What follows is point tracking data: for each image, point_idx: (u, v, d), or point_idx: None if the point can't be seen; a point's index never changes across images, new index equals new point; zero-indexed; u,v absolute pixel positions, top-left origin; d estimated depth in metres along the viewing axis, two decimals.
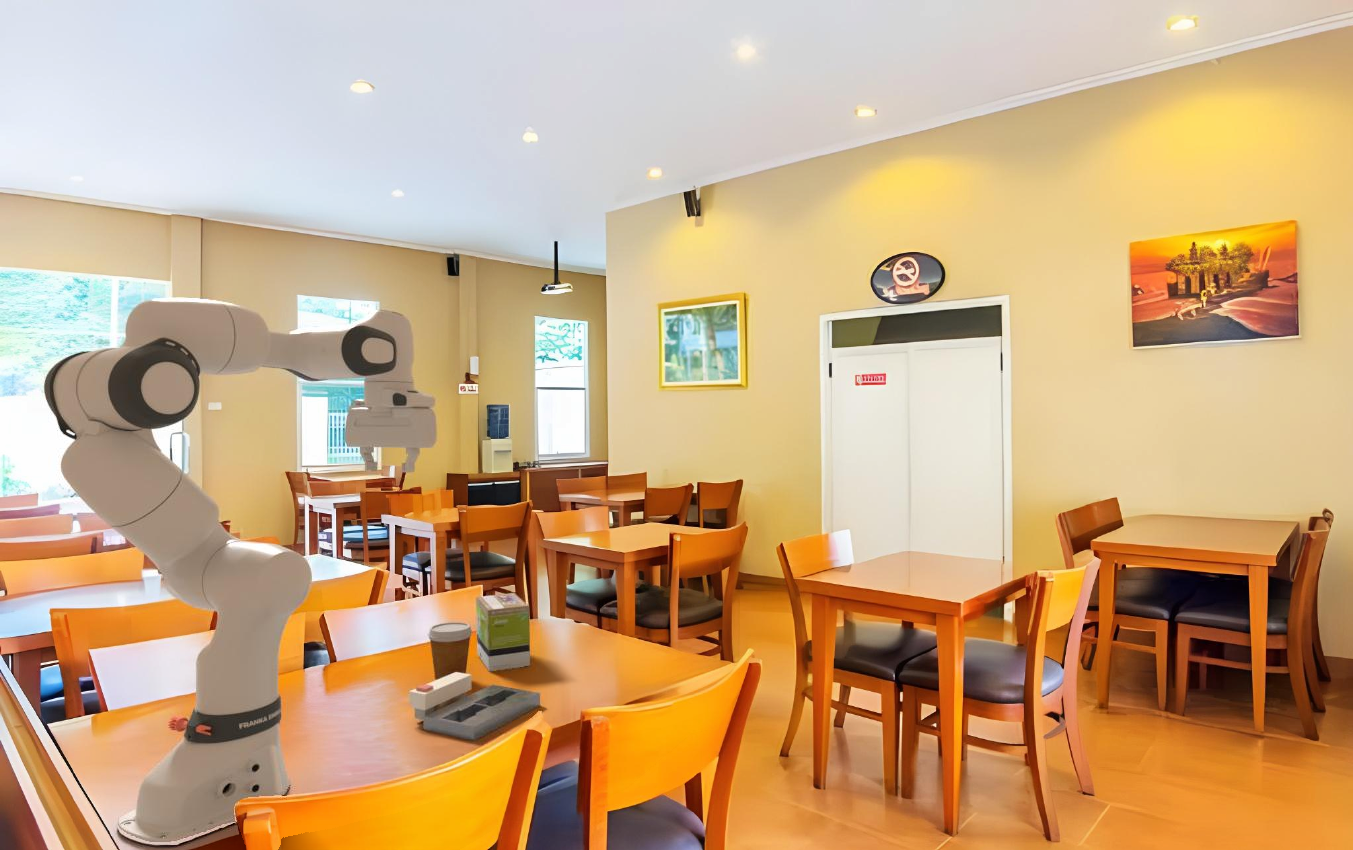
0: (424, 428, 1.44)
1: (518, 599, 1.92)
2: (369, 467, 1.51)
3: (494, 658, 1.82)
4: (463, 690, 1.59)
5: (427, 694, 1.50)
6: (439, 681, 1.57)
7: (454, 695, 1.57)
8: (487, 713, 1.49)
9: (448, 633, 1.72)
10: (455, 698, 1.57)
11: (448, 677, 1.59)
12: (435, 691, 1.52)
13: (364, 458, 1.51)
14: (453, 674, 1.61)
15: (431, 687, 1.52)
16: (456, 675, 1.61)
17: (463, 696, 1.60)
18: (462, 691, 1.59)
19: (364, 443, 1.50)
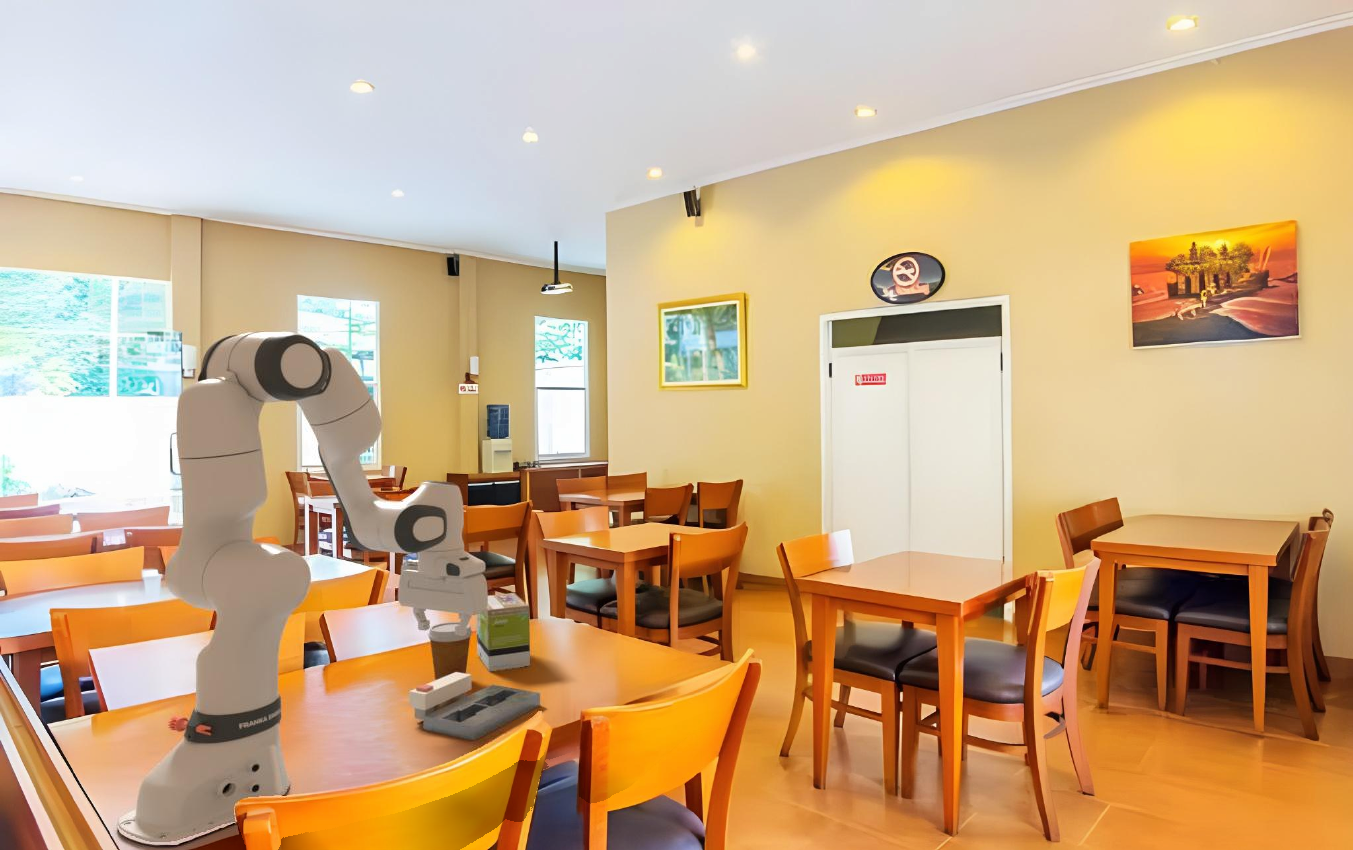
0: (477, 596, 1.51)
1: (518, 599, 1.92)
2: (422, 627, 1.58)
3: (494, 658, 1.82)
4: (463, 690, 1.59)
5: (427, 694, 1.50)
6: (439, 681, 1.57)
7: (454, 695, 1.57)
8: (487, 713, 1.49)
9: (448, 633, 1.72)
10: (455, 698, 1.57)
11: (448, 677, 1.59)
12: (435, 691, 1.52)
13: (417, 618, 1.58)
14: (453, 674, 1.61)
15: (431, 687, 1.52)
16: (456, 675, 1.61)
17: (463, 696, 1.60)
18: (462, 691, 1.59)
19: (417, 605, 1.57)
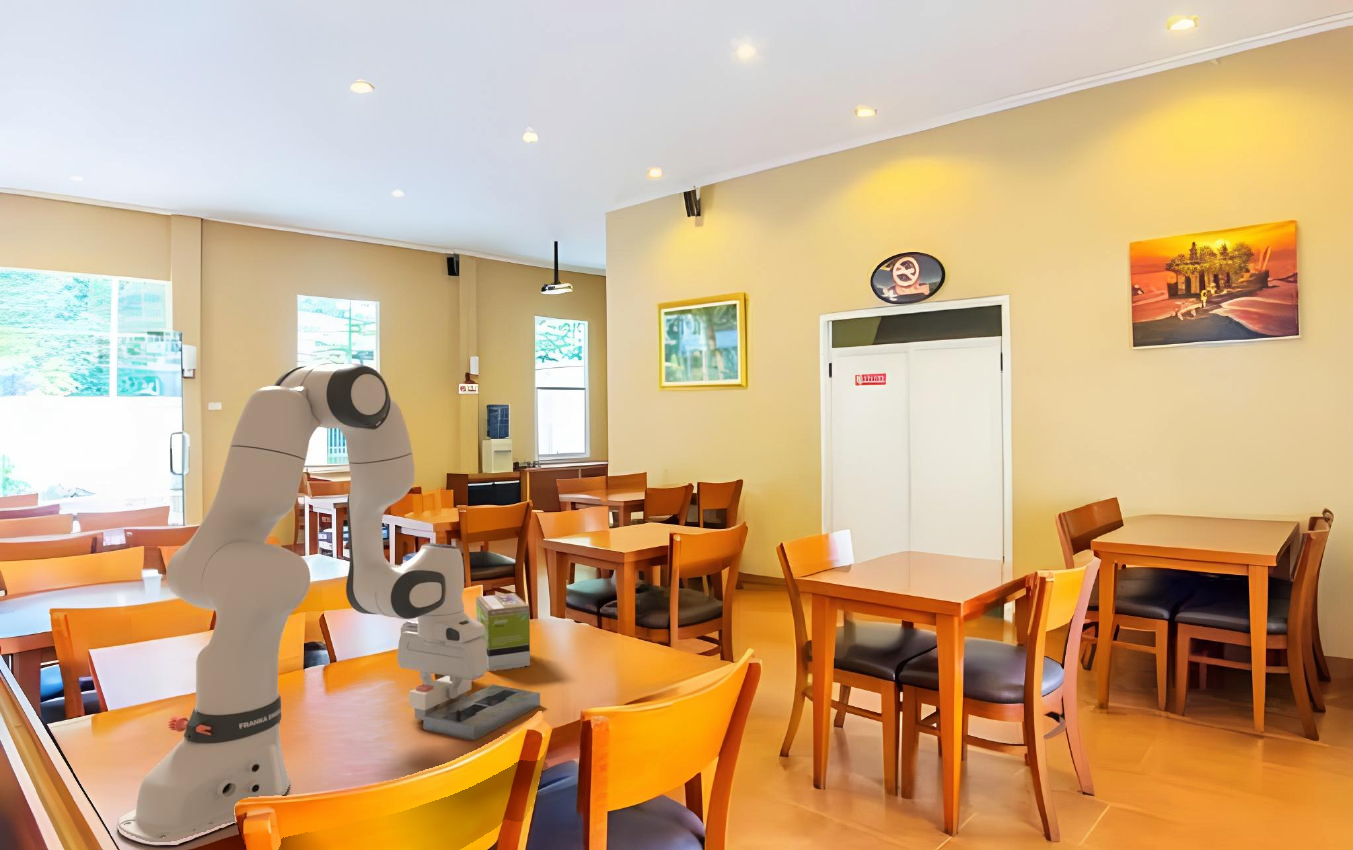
0: (476, 661, 1.51)
1: (518, 599, 1.92)
2: None
3: (494, 658, 1.82)
4: (463, 690, 1.59)
5: (427, 694, 1.50)
6: (439, 681, 1.57)
7: None
8: (487, 713, 1.49)
9: None
10: (455, 698, 1.57)
11: (448, 677, 1.59)
12: (435, 691, 1.52)
13: (424, 682, 1.57)
14: None
15: (431, 687, 1.52)
16: None
17: (463, 696, 1.60)
18: (462, 691, 1.59)
19: (417, 667, 1.57)
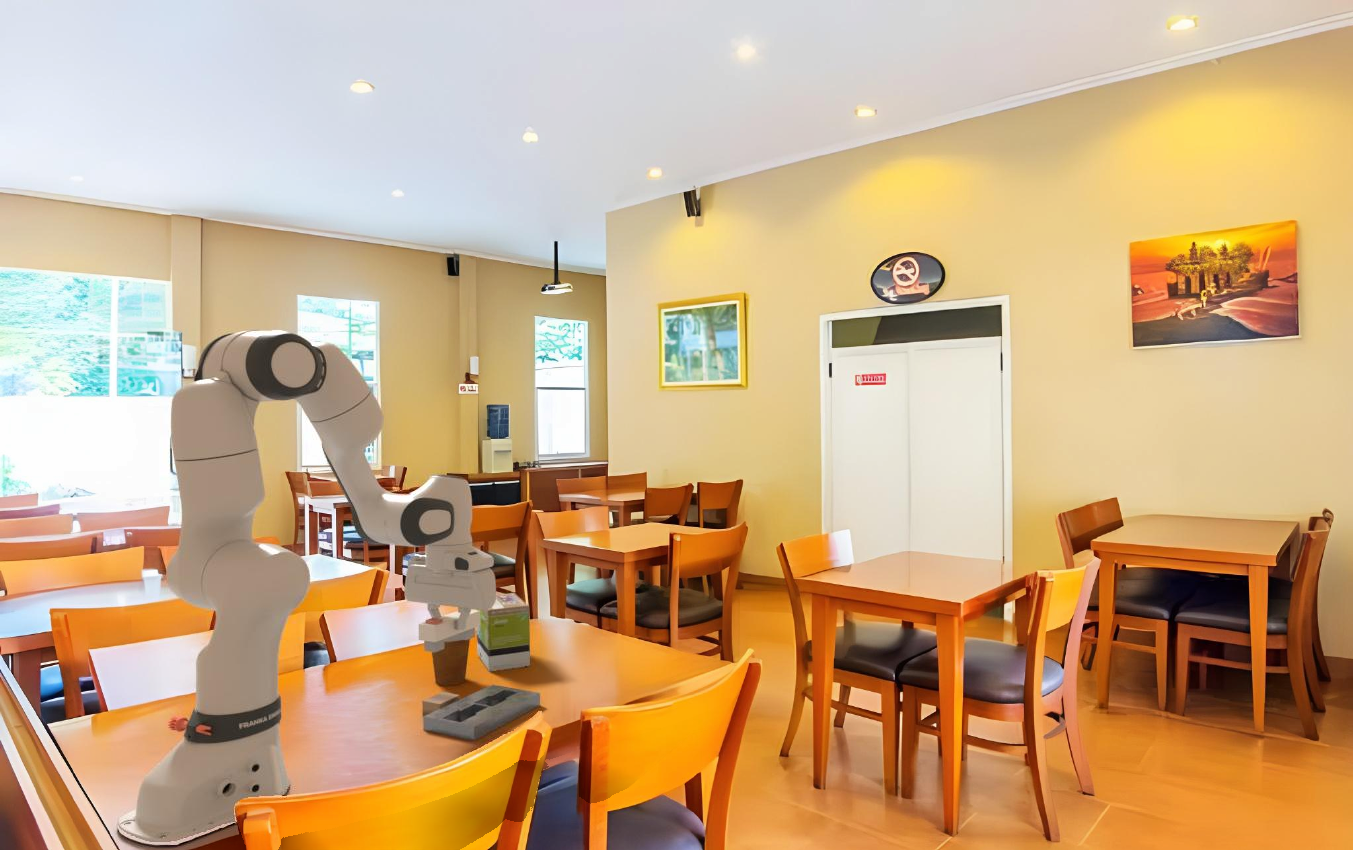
0: (486, 591, 1.50)
1: (518, 599, 1.92)
2: None
3: (494, 658, 1.82)
4: (472, 625, 1.58)
5: (437, 626, 1.49)
6: (448, 616, 1.56)
7: (463, 630, 1.56)
8: (487, 713, 1.49)
9: None
10: (455, 698, 1.57)
11: (457, 613, 1.59)
12: (445, 624, 1.51)
13: (432, 614, 1.56)
14: None
15: (441, 620, 1.51)
16: None
17: (472, 632, 1.59)
18: (471, 626, 1.58)
19: (424, 600, 1.55)
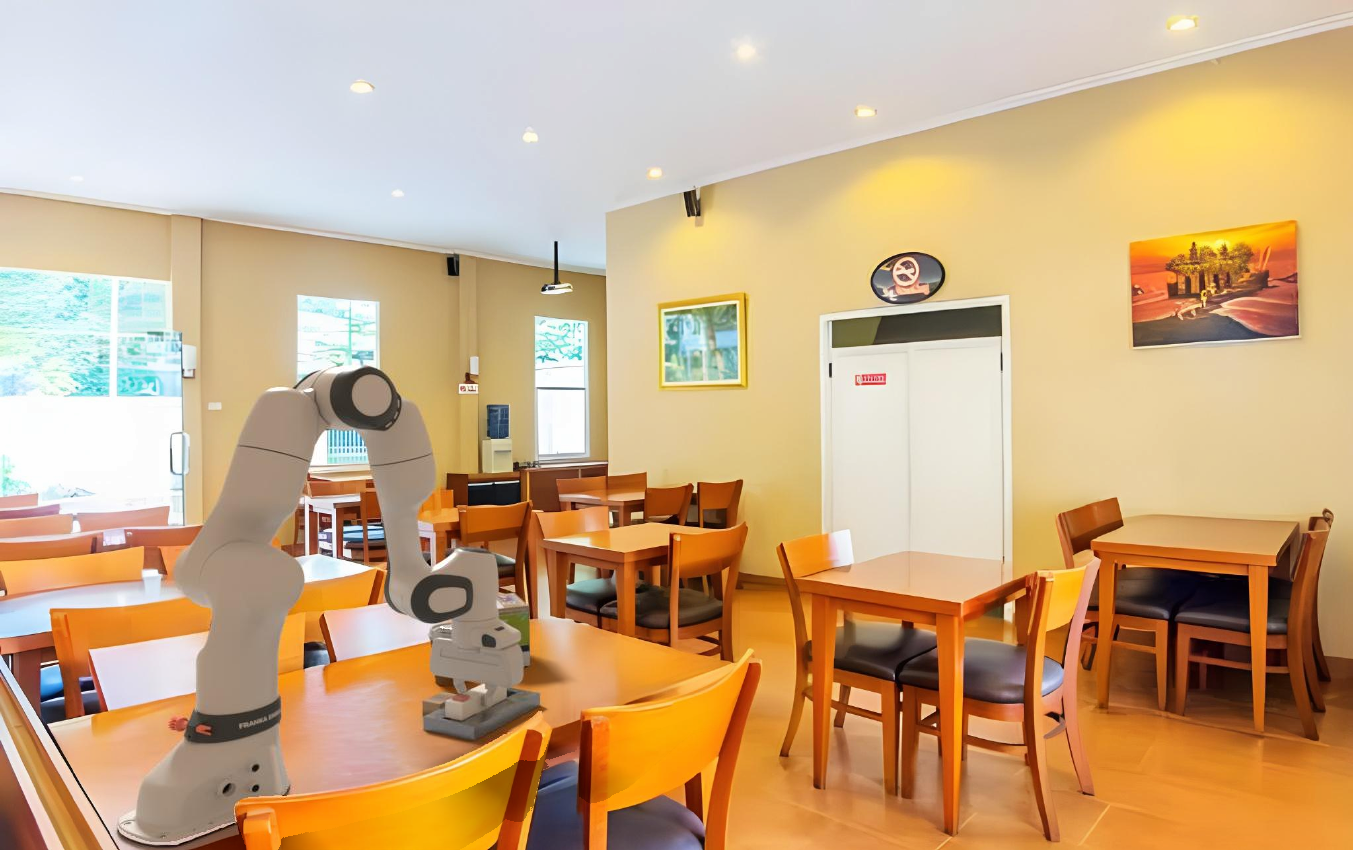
0: (513, 669, 1.47)
1: (518, 599, 1.92)
2: None
3: None
4: (499, 699, 1.55)
5: (464, 703, 1.46)
6: (474, 690, 1.53)
7: None
8: (487, 713, 1.49)
9: None
10: None
11: (483, 686, 1.55)
12: (472, 701, 1.48)
13: (458, 689, 1.53)
14: None
15: (467, 697, 1.48)
16: None
17: None
18: (498, 700, 1.55)
19: (450, 675, 1.52)
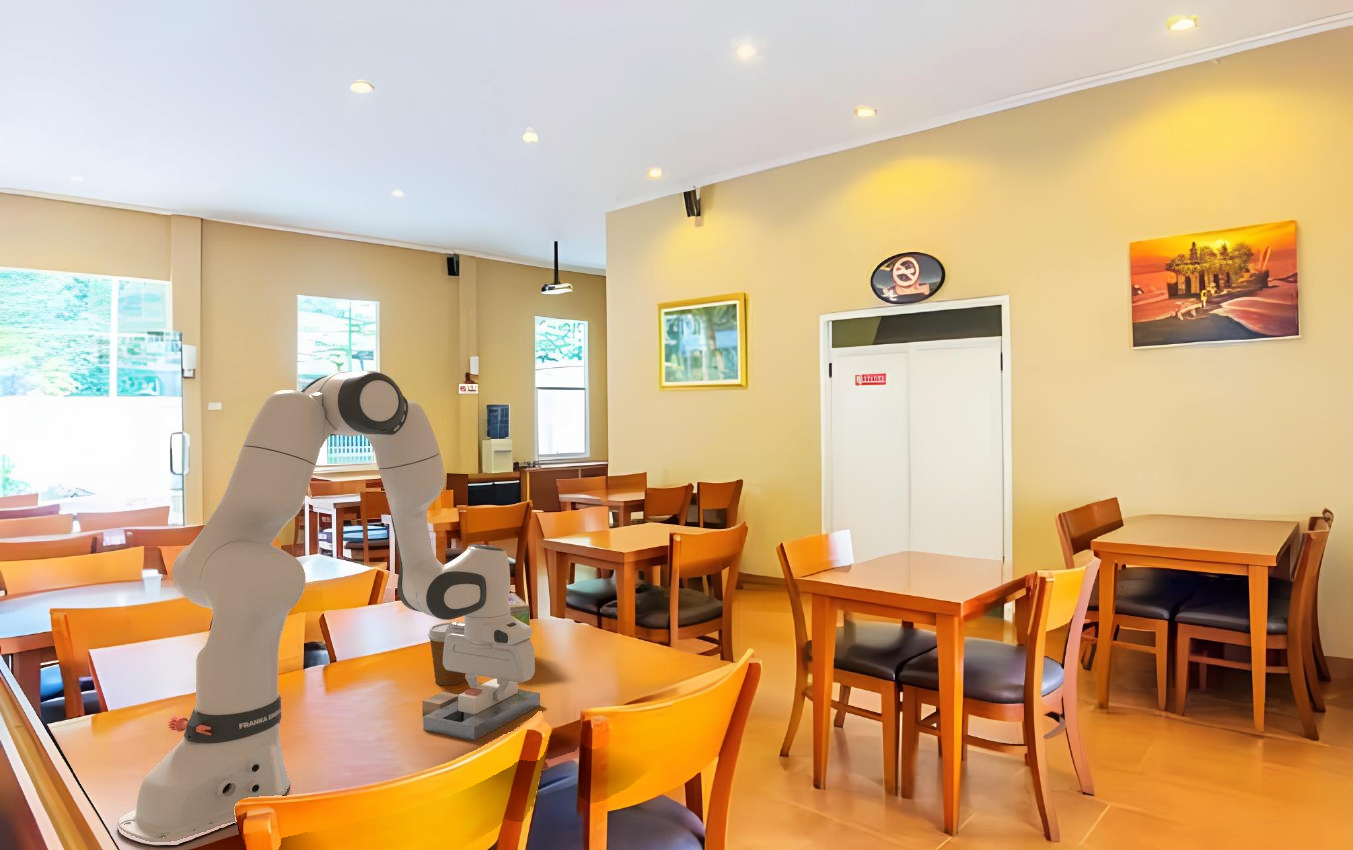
0: (525, 664, 1.50)
1: (518, 599, 1.92)
2: None
3: None
4: (510, 694, 1.58)
5: (477, 698, 1.49)
6: (486, 685, 1.56)
7: None
8: (487, 713, 1.49)
9: None
10: (455, 698, 1.57)
11: (495, 680, 1.58)
12: (484, 695, 1.51)
13: (470, 684, 1.56)
14: None
15: (480, 691, 1.51)
16: None
17: None
18: (509, 695, 1.58)
19: (463, 670, 1.55)
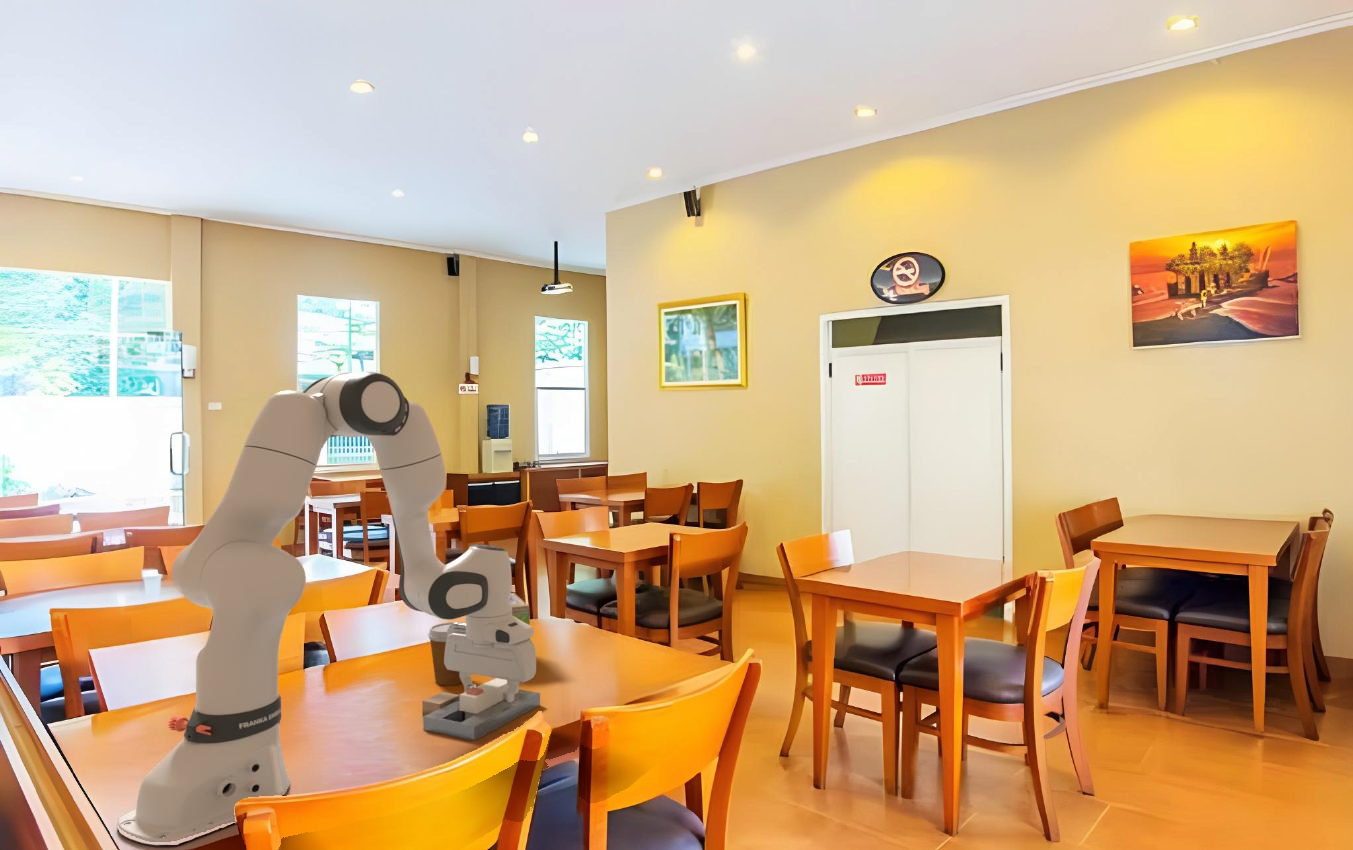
0: (526, 664, 1.50)
1: (518, 599, 1.92)
2: None
3: None
4: None
5: (478, 697, 1.50)
6: (487, 684, 1.56)
7: None
8: (487, 713, 1.49)
9: None
10: (455, 698, 1.57)
11: (496, 680, 1.59)
12: (485, 694, 1.51)
13: (464, 682, 1.57)
14: None
15: (481, 690, 1.52)
16: None
17: None
18: None
19: (464, 669, 1.56)
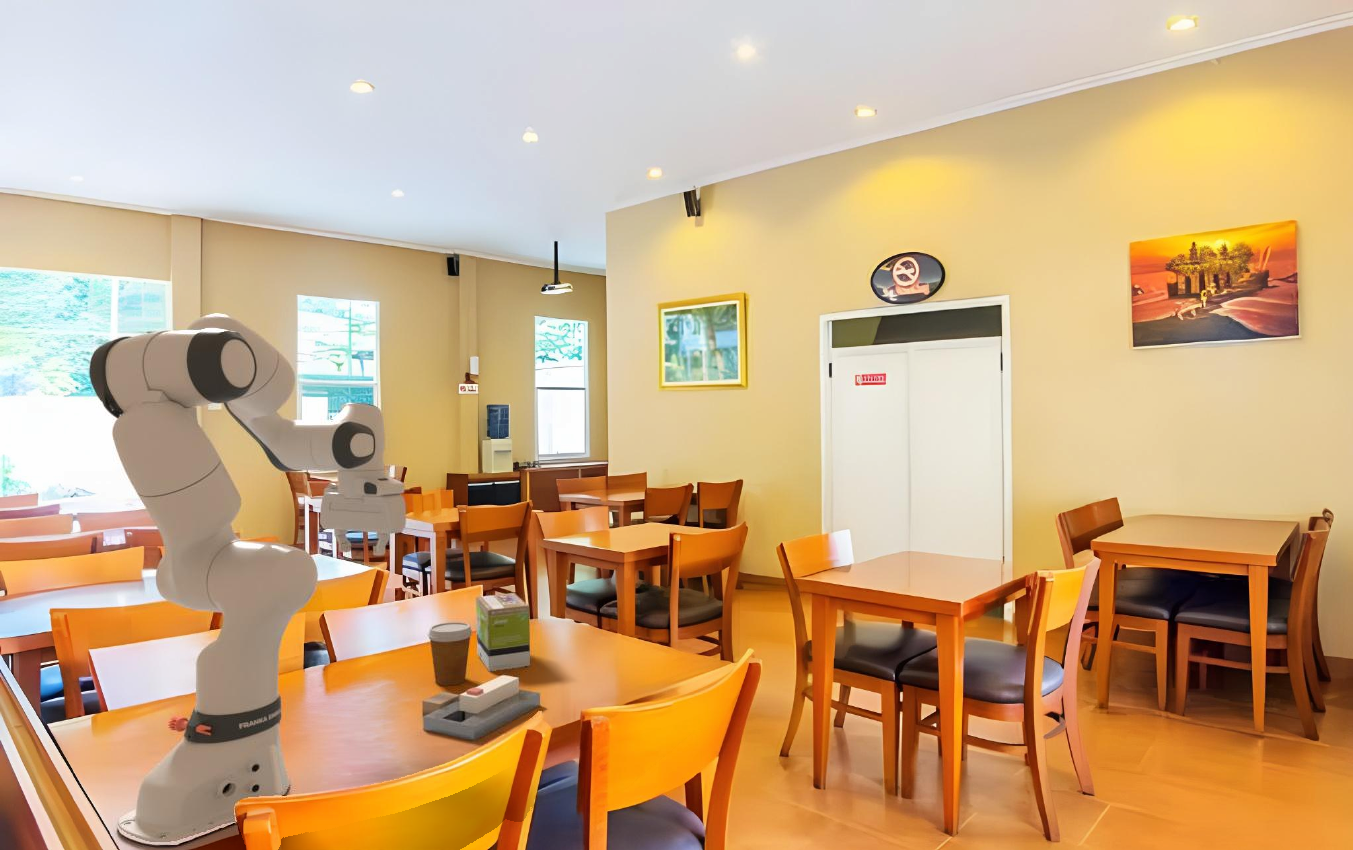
0: (394, 515, 1.53)
1: (518, 599, 1.92)
2: (343, 548, 1.60)
3: (494, 658, 1.82)
4: (511, 693, 1.59)
5: (478, 697, 1.50)
6: (487, 684, 1.56)
7: (503, 698, 1.56)
8: (487, 713, 1.49)
9: (448, 633, 1.72)
10: (455, 698, 1.57)
11: (496, 680, 1.59)
12: (485, 694, 1.51)
13: (338, 540, 1.60)
14: (500, 677, 1.61)
15: (481, 690, 1.52)
16: (503, 678, 1.60)
17: None
18: (510, 694, 1.58)
19: (338, 526, 1.59)
